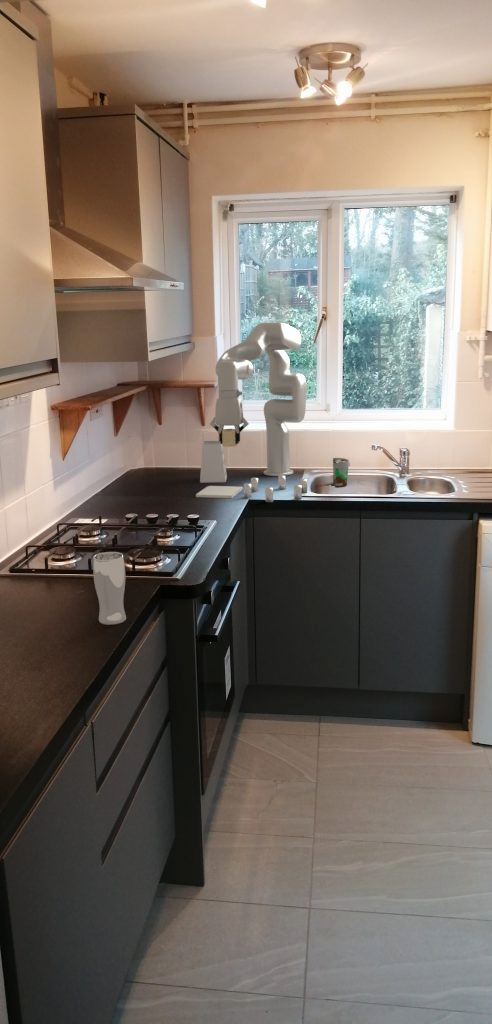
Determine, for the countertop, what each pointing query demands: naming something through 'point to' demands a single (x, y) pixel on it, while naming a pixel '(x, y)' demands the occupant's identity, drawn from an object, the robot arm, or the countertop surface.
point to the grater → (212, 462)
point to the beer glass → (110, 586)
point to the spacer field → (281, 485)
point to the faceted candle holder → (228, 437)
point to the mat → (219, 492)
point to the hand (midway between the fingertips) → (229, 442)
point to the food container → (340, 472)
